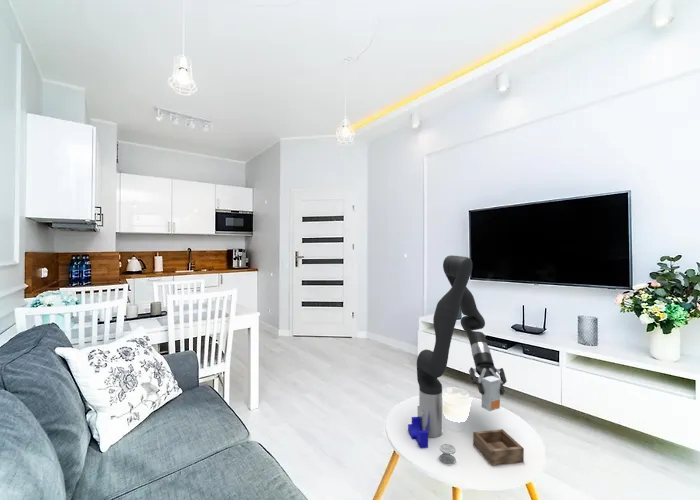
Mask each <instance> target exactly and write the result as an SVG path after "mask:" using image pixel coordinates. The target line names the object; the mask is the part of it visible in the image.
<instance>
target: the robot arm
mask: <svg viewBox="0 0 700 500" xmlns="http://www.w3.org/2000/svg"><path fill="white" fill-rule="evenodd" d="M442 269H443V272H444V274H445V277H446V279H447V280H448V282H449V285H450V286H451V288H450V289H449V290H448V291H447V292H446V293H445V294H444V295H443V296H442V297H441V299H439V301H438V302H437V304H436V307H435V310H434V314H433V330H434V335H435V343H434V348H433V350H431V349H422V350H421V351H420V352H419V353H418V355H417V359H416V378H417V379H416V380H417V384H418V389H419V391H418V392H419V393H418V396H419V397H418V398H419V400H418V401H419V402H418V405H417V417H419V418H420V427H421V431H427V432H428V438H429V437H430V438H438V437H440V436H441V435H442V434H443V384H442V382H441V381H440V380H439V379H438V378H440V377H443V375H444V373H445V371H446V369H447V366H448V360H449V354H450V347H451V343H452V337H453V334H454V330H455V327H456V323H457V320H458V316H459V312H461V313H462V315H464V316H461V318H460V324H461V325H460V326H461V328H462V330H463V331H464V332H465V334H466V335H467V337H468V340H469V341H468V342H469V345H470V349H471V356H472V358H473V362H474V366H475V368H473V367H471V366H470V368H469V370H468V373H469V377H470V380H471V383H472V385H476V386H477V389H478V392H479V394H480V395H481V396H482V395H483V394H484V389H483V385H482V378H485V377H489V376H494V377H496V378H499V379H500V396H503V395H504V394H505V387H504V385H505V384H506V383H507V378H506V377H507V376H506V374H505V370H504V368H502V367H501V368H496V367H495V363H494V360H493V357H492V353H491V350H490V347H489V346H488V342H487V339H486V335H485V334H484V332H482V331H478V330H481V329H484V327H485V326H486V322H485V318H484V317H483V315H482V314H481V313H480V311H479V309H478V307H477V304H476V300H475V298H474V295H473V294H472V292H471V291H470V290H469V288H468V287H467V285H468V282H469V280H470V277H471V274H472V271H473V261H472V259H471V258H470V257H467V256H462V255H460V256H459V255H448V256H446V257H445V258H444V259H443V262H442ZM476 374H478V378H477V377H476Z"/></svg>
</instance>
